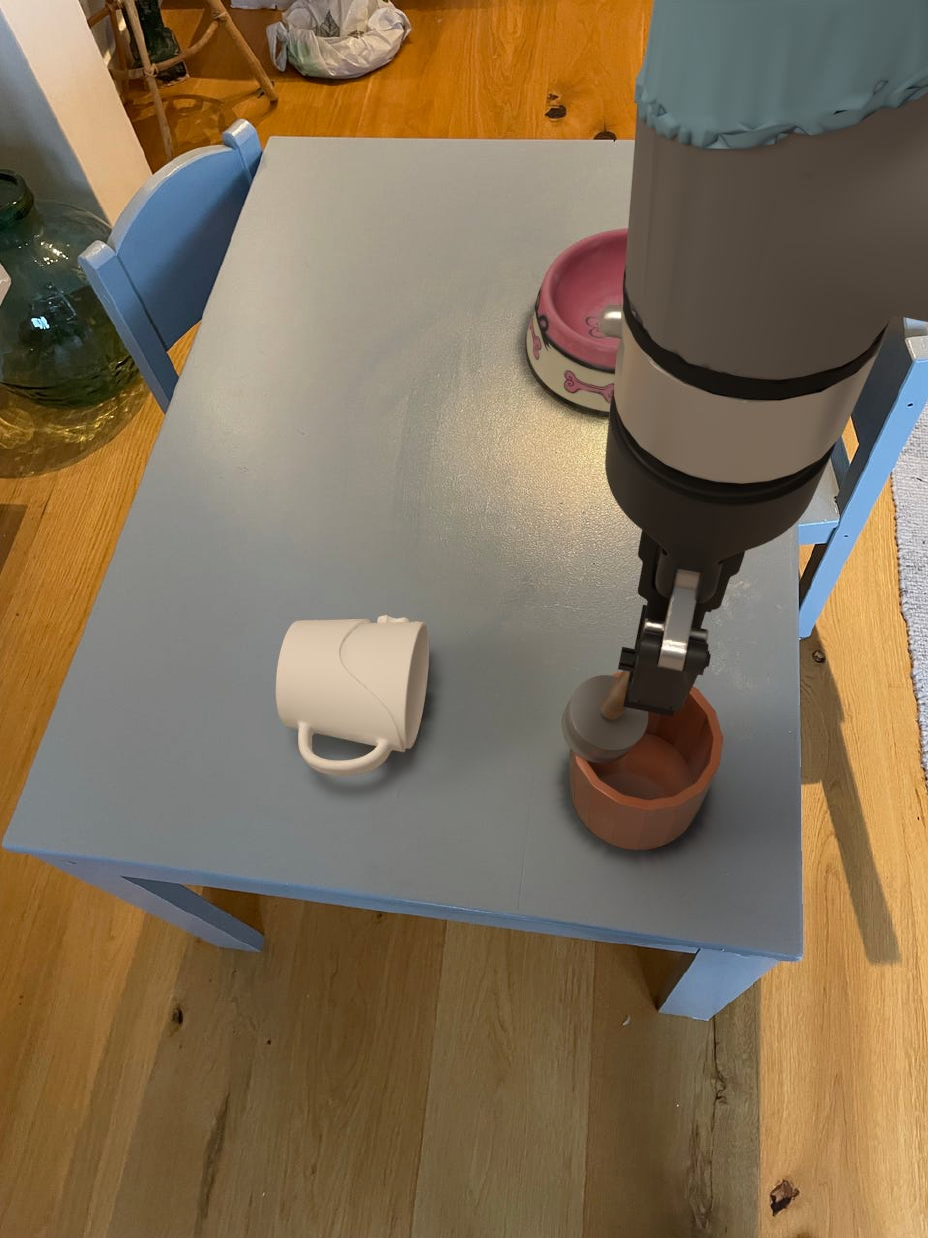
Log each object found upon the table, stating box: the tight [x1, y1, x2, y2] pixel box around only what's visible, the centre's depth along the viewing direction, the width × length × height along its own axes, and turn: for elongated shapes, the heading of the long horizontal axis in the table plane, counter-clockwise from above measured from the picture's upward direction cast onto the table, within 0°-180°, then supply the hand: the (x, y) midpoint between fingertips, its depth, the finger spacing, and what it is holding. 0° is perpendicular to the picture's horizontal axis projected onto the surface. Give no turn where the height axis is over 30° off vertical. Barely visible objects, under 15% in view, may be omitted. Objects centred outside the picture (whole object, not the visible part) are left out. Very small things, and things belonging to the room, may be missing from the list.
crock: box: [568, 671, 724, 851], centre depth 62 cm, size 9×9×10 cm
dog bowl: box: [524, 227, 628, 418], centre depth 83 cm, size 18×19×7 cm
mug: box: [275, 614, 430, 777], centre depth 68 cm, size 12×9×8 cm
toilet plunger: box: [560, 670, 648, 764], centre depth 49 cm, size 5×5×21 cm
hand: (652, 687), depth 51 cm, fingers closed on toilet plunger, 1 cm apart
